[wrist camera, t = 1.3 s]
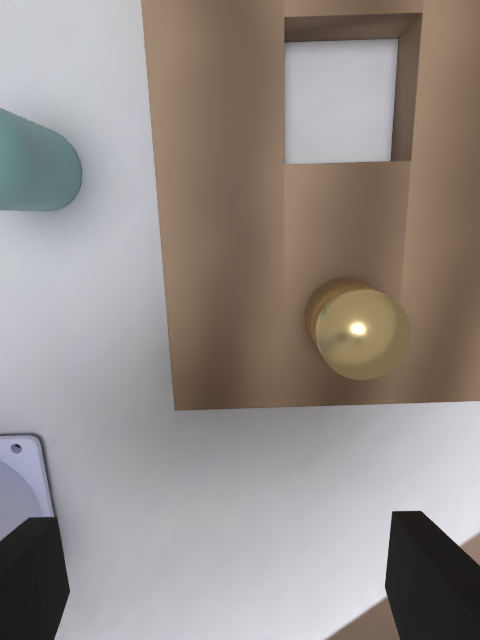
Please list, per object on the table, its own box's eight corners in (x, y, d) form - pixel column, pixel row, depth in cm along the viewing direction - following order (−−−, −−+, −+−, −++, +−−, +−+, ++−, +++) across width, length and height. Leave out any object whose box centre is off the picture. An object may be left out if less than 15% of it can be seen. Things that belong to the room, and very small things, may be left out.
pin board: (181, 390, 19) (162, 451, 14) (145, -73, 14) (98, -222, 9) (475, 380, 19) (557, 439, 14) (538, -86, 14) (696, -242, 9)
